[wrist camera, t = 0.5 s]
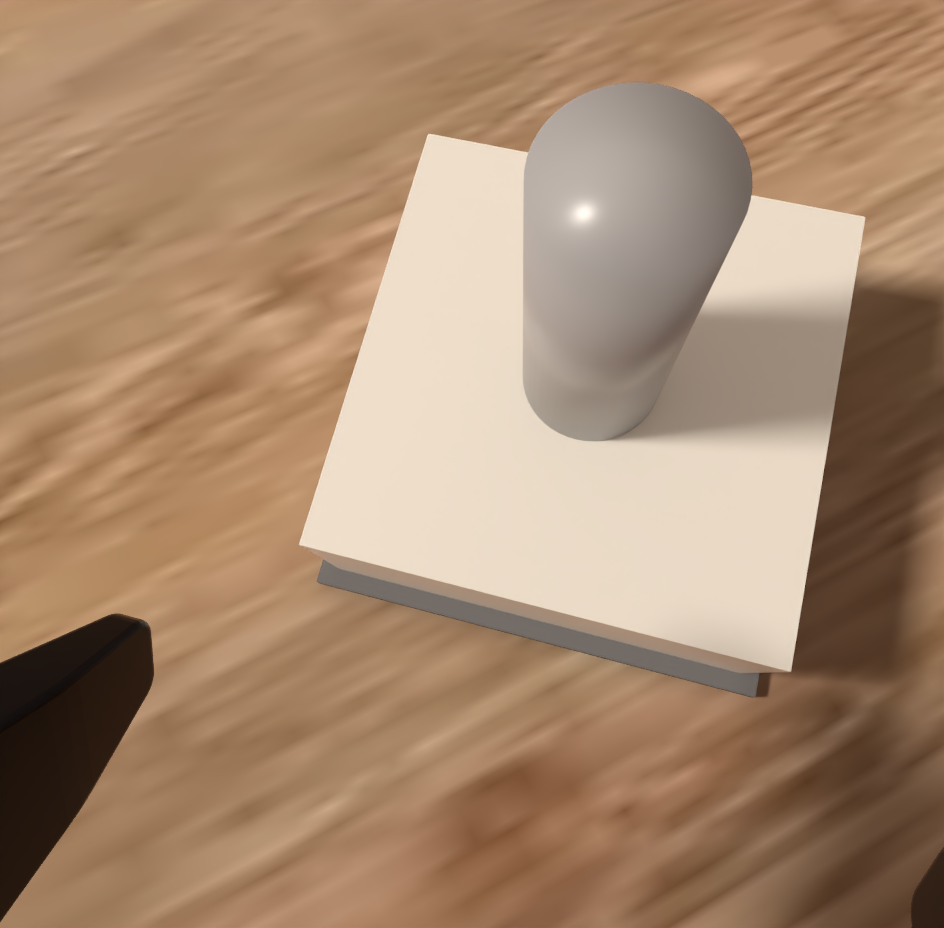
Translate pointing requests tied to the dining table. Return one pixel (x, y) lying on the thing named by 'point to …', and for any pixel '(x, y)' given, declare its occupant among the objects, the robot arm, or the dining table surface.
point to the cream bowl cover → (599, 385)
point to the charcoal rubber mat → (540, 631)
